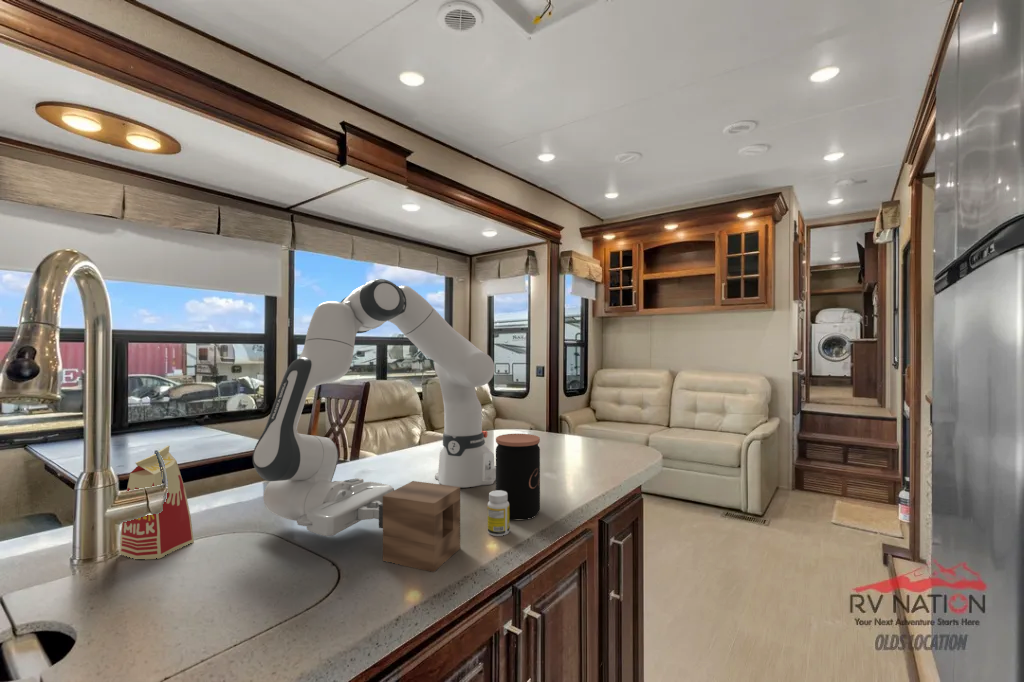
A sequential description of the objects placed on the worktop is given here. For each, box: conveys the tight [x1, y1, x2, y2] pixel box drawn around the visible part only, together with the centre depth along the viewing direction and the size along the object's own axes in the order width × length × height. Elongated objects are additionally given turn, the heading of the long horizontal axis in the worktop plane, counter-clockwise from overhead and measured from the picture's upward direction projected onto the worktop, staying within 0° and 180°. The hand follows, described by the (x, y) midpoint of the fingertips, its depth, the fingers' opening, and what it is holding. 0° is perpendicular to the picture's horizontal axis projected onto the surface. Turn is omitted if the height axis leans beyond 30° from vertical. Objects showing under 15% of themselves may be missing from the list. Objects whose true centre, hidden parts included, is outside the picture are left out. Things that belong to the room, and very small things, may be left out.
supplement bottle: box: [486, 489, 511, 537], centre depth 99 cm, size 5×5×8 cm
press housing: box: [382, 480, 461, 573], centre depth 88 cm, size 10×11×12 cm
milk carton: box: [119, 445, 195, 560], centre depth 91 cm, size 9×9×20 cm
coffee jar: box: [495, 433, 541, 520], centre depth 110 cm, size 11×11×18 cm
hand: (385, 512), depth 91 cm, fingers closed, pressing on plunger
